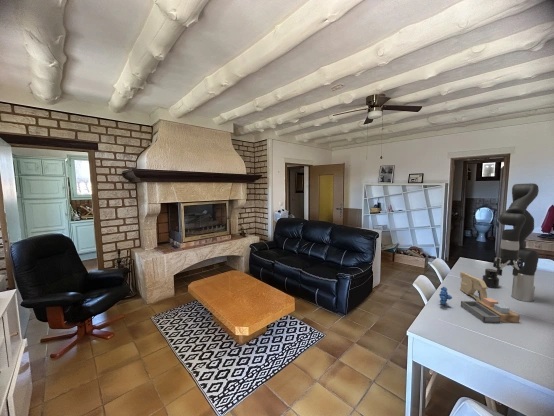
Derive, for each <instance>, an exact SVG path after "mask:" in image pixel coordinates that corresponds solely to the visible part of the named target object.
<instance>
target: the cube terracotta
mask: <svg viewBox="0 0 554 416" xmlns="http://www.w3.org/2000/svg"><path fill="white" fill-rule="evenodd" d="M483 303H484V304H486V305H488V306H489V307H494V304H499V301H498V300H496V299H494V298H492V297H491V298H490V297H487V298H484V300H483Z"/></svg>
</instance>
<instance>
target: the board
mask: <svg viewBox="0 0 554 416" xmlns="http://www.w3.org/2000/svg"><path fill="white" fill-rule="evenodd" d="M477 303H479V304H481V305H482V306H484V307H485V308H487V309H489V310H490V311H492V312H493V313H495V314H497V315H498V316H500V317H501V318H500V323H520V314H518V313H516V312H514V311H513V310H511V309H510V311H509V314H506V313H499V312H498V311H496V310H494V307H489V306H488V305H486V304H484V303H483V301H478V302H477Z"/></svg>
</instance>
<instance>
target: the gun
mask: <svg viewBox="0 0 554 416" xmlns="http://www.w3.org/2000/svg"><path fill="white" fill-rule="evenodd" d="M459 278H461V281H460V288H459V290H460V291H461V292H463V293H464V294H466V295H468V296H470V297H472V298H473V299H475V301H476V302H477V303H478V301H483V300H484V298H488V293H487V289H488V287H487V286H486V284H485V282H484V281H483V279H481V278H478V277H476V276H474V275H471V274H469V273H466V272H465V271H460V273H459ZM476 291H477V294H478V296H477V295H475V293H476Z"/></svg>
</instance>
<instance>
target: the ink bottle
mask: <svg viewBox="0 0 554 416" xmlns="http://www.w3.org/2000/svg"><path fill="white" fill-rule="evenodd" d="M498 276H499V275H498V274H497V269H494V268H485V269H484V274H483V276H482V280H483V281H484V282H485V284H486V286H487V288H491V289H498V288H499V287H500V277H498Z"/></svg>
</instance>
